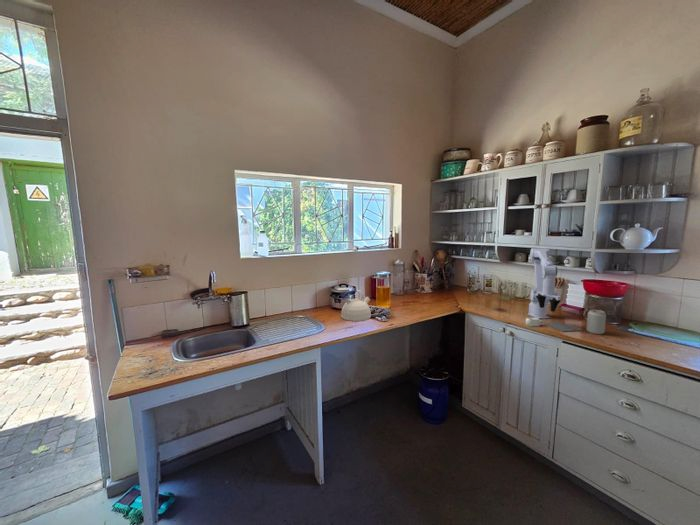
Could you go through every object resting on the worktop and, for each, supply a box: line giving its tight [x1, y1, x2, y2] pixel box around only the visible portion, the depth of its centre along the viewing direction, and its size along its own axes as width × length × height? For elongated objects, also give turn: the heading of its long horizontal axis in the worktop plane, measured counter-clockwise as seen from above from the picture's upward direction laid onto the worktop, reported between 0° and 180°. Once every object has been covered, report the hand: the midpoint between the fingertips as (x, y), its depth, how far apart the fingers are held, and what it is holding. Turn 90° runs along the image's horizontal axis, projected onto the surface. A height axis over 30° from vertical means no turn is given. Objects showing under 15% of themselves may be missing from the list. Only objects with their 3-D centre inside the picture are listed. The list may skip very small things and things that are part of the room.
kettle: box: [340, 289, 372, 322], centre depth 189 cm, size 20×21×18 cm
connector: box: [525, 317, 544, 327], centre depth 165 cm, size 9×3×4 cm, turn 95°
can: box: [586, 309, 607, 335], centre depth 152 cm, size 8×8×12 cm
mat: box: [542, 321, 581, 333], centre depth 162 cm, size 14×10×1 cm
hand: (547, 309), depth 164 cm, fingers open, 7 cm apart
